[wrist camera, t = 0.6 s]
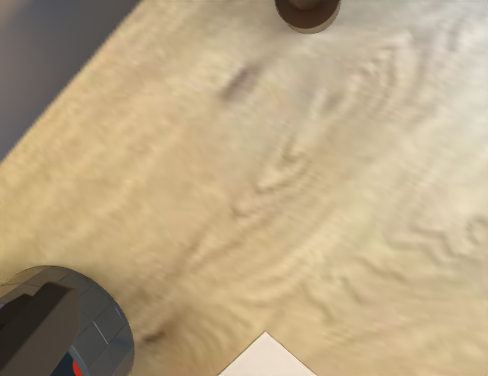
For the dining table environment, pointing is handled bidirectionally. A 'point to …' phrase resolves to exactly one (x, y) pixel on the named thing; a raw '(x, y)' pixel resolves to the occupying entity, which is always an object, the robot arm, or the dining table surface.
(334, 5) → the brown wooden peg
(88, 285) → the bowl
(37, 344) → the robot arm
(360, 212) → the dining table surface
